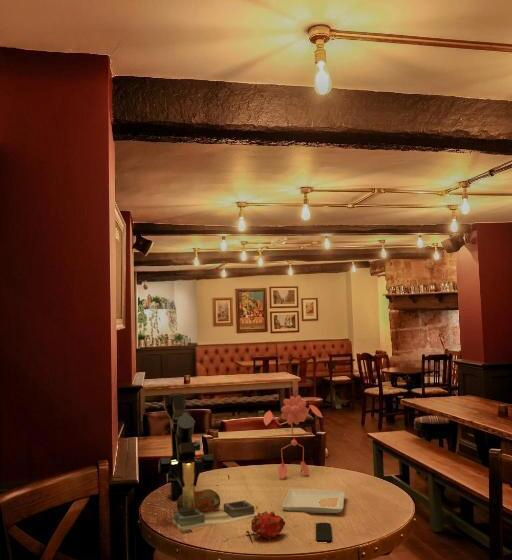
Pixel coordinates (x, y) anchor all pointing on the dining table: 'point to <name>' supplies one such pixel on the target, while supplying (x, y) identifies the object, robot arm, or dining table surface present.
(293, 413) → the pink flower figurine
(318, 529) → the remote control
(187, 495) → the brass peg
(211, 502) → the brown flat oval piece
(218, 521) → the dock board
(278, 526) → the dragon fruit
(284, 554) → the dining table surface
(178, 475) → the robot arm
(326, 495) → the salad plate
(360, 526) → the dining table surface
